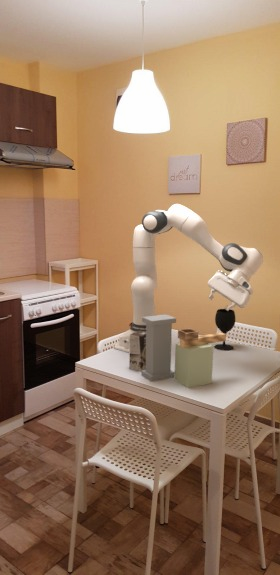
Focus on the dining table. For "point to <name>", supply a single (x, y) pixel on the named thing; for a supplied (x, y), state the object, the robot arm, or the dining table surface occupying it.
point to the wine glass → (224, 325)
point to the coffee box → (137, 350)
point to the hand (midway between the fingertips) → (217, 304)
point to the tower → (158, 347)
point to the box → (193, 365)
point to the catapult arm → (198, 338)
